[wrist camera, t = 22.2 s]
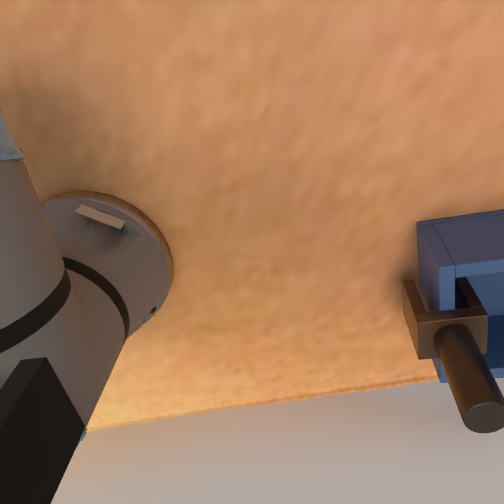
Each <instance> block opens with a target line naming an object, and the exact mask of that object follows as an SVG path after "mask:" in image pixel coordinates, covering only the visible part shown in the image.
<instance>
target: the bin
mask: <svg viewBox="0 0 504 504" xmlns="http://www.w3.org/2000/svg"><path fill="white" fill-rule="evenodd" d="M417 245H418V271H419V295H420V298H421V300H422V303H423V305H424V308H425V311H426V313H428V312H437V311H446V310H455V277H456V278H458V277H467V279H468V280H469V282H470V284H471V286H472V287H473V289H474V291H475V293H476V294H477V296H478V298H479V300H480V301H481V303H482V305H483V307H484V308H485V310H486V312H487V314H488V335H487V353H484V354H482V355H483V357H484V359H485V361H486V363H487V365H488V367H489V369H490V371H491V373H492V375H493V377H494V378H504V210H498V211H491V212H484V213H477V214H470V215H463V216H456V217H449V218H442V219H435V220H428V221H421V222H417ZM432 360H433V363H434V366H435V369H436V371H437V374H438V377H439V380H440V382H441V383H447V382H448V380H447V377H446V375H445V372H444V369H443V367H442V364H441V362H440V359H439V358H432Z"/></svg>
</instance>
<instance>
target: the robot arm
mask: <svg viewBox="0 0 504 504" xmlns="http://www.w3.org/2000/svg"><path fill="white" fill-rule="evenodd" d="M23 158H25V157H24V153H23V151H22V149H20V148H18V147H17V145H16V143H15V141H14V139H13V136H12V134H11V132H10V130H9V128H8V126H7V124H6V122H5V120H4V117H3V115H2V113H1V111H0V504H51V501H52V499H53V497H54V495H55V492H56V491H57V488H58V486H59V484H60V482H61V480H62V477H63V475H64V473H65V471H66V469H67V466H68V464H69V462H70V460H71V458H72V456H73V453H74V451H75V449H76V447H77V446H78V444H79V442H80V441H82V440H83V438H84V436H85V434H86V430H87V429H86V426H87V424H88V422H89V420H90V417H91V415H92V413H93V411H94V409H95V407H96V404H97V402H98V400H99V398H100V396H101V393H102V391H103V389H104V387H105V385H106V382H107V380H108V378H109V376H110V374H111V372H112V369H113V367H114V365H115V363H116V361H117V358H118V356H119V354H120V352H121V350H122V347H123V345H124V343H125V341H126V339H127V338H128V337H129V336H130V335H132V334H133V333H134V332H135V331H136V330H137V329H139V328H140V327H141V326H142V324H144V323H145V322H147V321H148V320H149V319H150V318H151V317H152V316H153V315H154V314H155V313H156V312H157V311H158V310H159V309H160V307H161V306H162V304H163V302H164V300H165V298H166V296H167V293H168V291H169V288H170V285H171V282H172V276H173V264H172V258H171V254H170V251H169V248H168V246H167V243H166V241H165V240H164V238H163V236H162V235H161V233H160V232H159V230H158V229H157V228H156V226H155V225H154V224H153V223H152V222H151V221H150V220H149V219H148V218H147V217H146V216H145V215H144V214H142V213H141V212H140V211H139V210H137V209H136V208H134V207H133V206H131V205H129V204H127V203H126V202H124V201H122V200H119V199H117V198H115V197H112V196H109V195H105V194H101V193H96V192H86V191H77V192H68V193H64V194H60V195H57V196H55V197H52V198H50V199H48V200H47V201H45V202H44V203H42V204H41V205H40V202H39V200H38V198H37V195H36V192H35V190H34V187H33V185H32V182H31V179H30V177H29V174H28V171H27V169H26V166H25V164H24V161H23Z"/></svg>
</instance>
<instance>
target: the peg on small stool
mask: <svg viewBox="0 0 504 504" xmlns="http://www.w3.org/2000/svg"><path fill="white" fill-rule="evenodd" d="M402 291H403V308H404V316H405V319H406V322H407V325H408V328H409V332H410V335H411V338H412V341H413V344H414V347H415V350H416V353H417V356H418V359H419V360H421V359H431V358H439V359H440V362H441V364H442V367H443V369H444V372H445V375H446V377H447V380H448V383H449V385H450V388H451V390H452V393H453V396H454V398H455V401H456V404H457V406H458V409H459V412H460V414H461V417H462V420H463V422H464V424H465V426H466V427H468V429H470V430H471V431H474V432H477V433H491V432H495V431H498V430H500V429H502V428H503V427H504V397H503V395H502V393H501V391H500V389H499V387H498V385H497V383H496V381H495V379H494V377H493V375H492V373H491V371H490V369H489V367H488V365H487V363H486V361H485V359H484V357H483V355H482V354H484V353H487V335H488V314H487V312H486V310H485V308H484V307H483V305H482V303H481V301H480V300H479V298H478V296H477V294H476V293H475V291H474V289H473V287H472V286H471V284H470V282H469V280H468V279H467V277H458V278H456V277H455V310H446V311H437V312H428V313H426V311H425V308H424V305H423V303H422V300H421V298H420V295H419V293H418V290H417V288H416V285H415V282H414V280H413V279H406V280H402Z"/></svg>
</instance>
